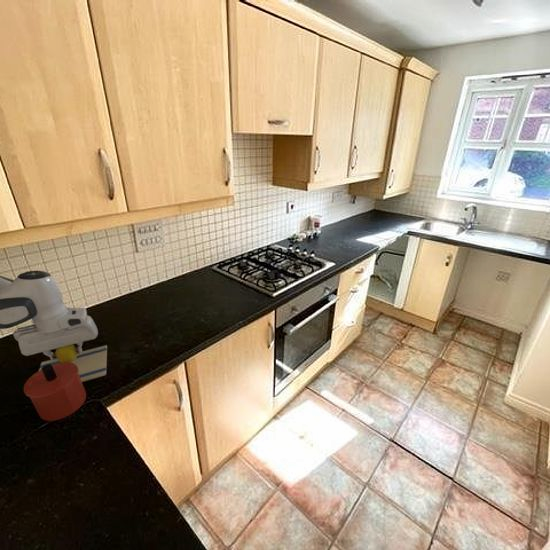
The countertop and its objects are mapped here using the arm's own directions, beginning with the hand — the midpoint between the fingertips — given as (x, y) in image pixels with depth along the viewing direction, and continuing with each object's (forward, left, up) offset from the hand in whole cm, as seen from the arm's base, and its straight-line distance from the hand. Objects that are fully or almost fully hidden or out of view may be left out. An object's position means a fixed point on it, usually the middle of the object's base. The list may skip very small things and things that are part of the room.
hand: (67, 355), depth 98 cm
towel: (0, 0, -6) cm, 6 cm away
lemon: (0, 0, -3) cm, 3 cm away
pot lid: (-1, -15, +4) cm, 15 cm away
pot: (-1, -15, -6) cm, 16 cm away
